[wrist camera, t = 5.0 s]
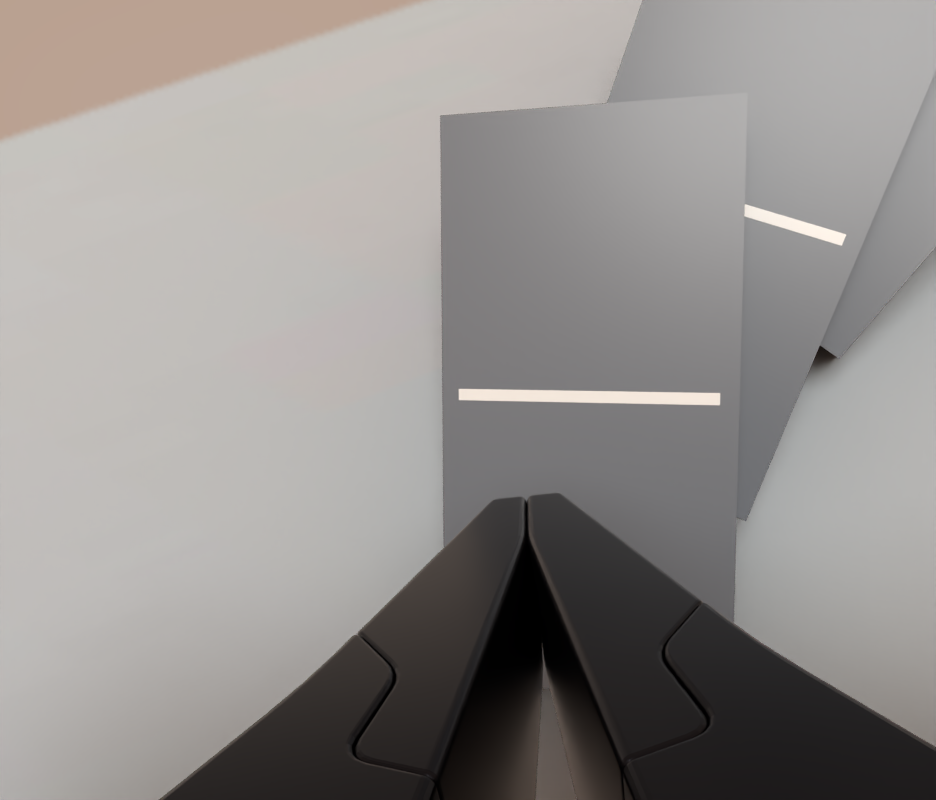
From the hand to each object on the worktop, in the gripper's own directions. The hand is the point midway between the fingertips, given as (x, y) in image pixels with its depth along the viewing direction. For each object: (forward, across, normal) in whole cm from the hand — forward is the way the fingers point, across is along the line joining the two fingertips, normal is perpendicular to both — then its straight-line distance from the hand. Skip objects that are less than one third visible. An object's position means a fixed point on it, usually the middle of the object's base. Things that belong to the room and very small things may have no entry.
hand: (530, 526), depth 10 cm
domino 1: (+3, +1, -6) cm, 6 cm away
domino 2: (+6, +2, -3) cm, 7 cm away
